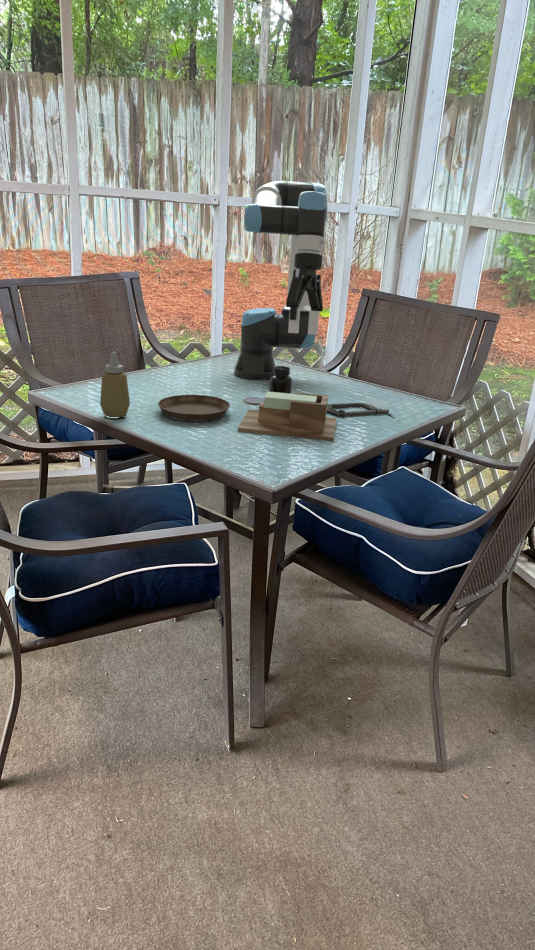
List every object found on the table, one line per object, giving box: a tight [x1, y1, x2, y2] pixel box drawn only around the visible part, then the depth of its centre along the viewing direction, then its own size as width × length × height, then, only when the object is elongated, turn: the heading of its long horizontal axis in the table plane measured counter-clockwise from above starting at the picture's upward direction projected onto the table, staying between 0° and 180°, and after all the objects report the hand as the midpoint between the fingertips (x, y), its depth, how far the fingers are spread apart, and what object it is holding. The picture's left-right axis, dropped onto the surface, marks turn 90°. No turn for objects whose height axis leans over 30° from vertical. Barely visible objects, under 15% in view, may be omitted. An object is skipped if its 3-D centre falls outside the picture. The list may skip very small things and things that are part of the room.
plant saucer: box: [157, 394, 231, 423], centre depth 192 cm, size 21×21×3 cm
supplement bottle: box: [268, 365, 293, 394], centre depth 203 cm, size 7×7×12 cm
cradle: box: [237, 391, 337, 442], centre depth 185 cm, size 18×26×8 cm
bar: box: [263, 391, 317, 410], centre depth 184 cm, size 6×14×3 cm, turn 82°
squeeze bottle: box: [99, 351, 131, 418], centre depth 182 cm, size 8×8×18 cm
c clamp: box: [326, 402, 396, 419], centre depth 203 cm, size 20×17×3 cm
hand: (303, 333), depth 184 cm, fingers open, 13 cm apart
